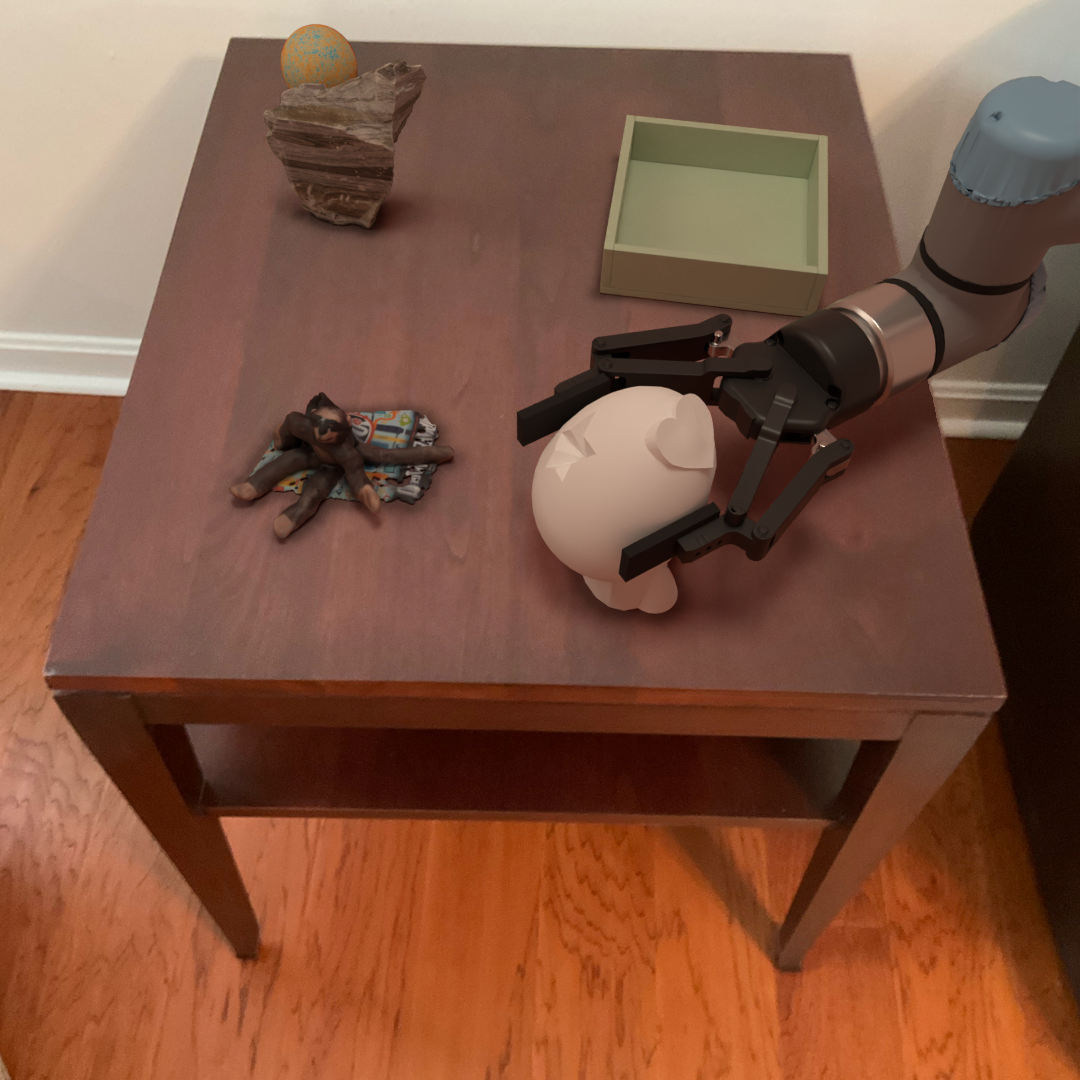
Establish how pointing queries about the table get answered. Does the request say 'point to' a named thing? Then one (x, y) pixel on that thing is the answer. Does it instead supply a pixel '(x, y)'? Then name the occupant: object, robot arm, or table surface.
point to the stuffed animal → (344, 459)
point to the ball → (317, 57)
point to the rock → (344, 140)
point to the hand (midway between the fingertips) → (569, 495)
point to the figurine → (624, 487)
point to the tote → (719, 216)
